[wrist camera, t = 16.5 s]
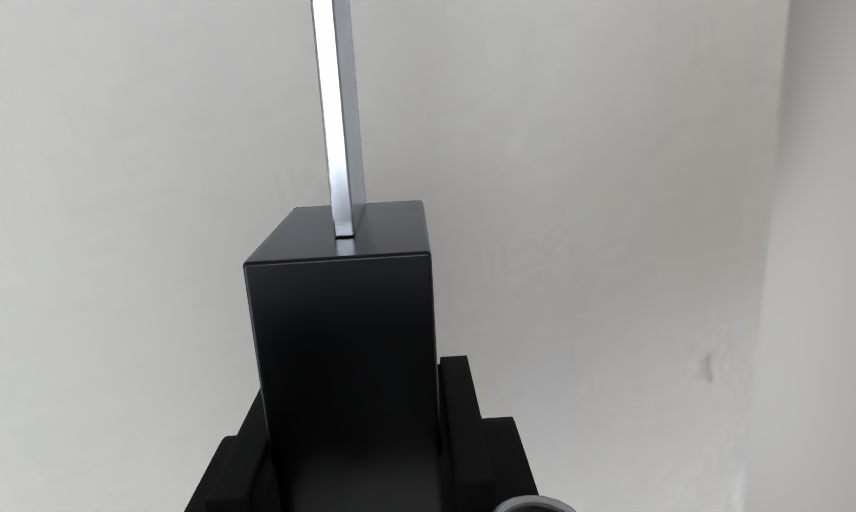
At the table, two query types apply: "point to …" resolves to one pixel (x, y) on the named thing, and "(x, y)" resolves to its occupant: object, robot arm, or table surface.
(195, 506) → the robot arm
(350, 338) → the screwdriver
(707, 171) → the table surface
